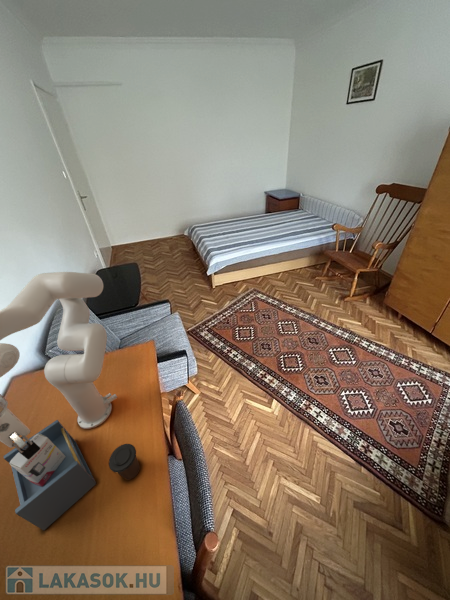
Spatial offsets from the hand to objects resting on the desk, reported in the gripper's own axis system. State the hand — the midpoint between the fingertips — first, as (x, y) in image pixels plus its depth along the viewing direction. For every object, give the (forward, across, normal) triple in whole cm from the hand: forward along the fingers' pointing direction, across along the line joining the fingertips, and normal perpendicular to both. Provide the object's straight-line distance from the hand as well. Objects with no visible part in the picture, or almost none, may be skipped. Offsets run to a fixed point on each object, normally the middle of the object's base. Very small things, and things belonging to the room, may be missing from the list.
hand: (25, 444), depth 66 cm
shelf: (+22, 0, +1) cm, 22 cm away
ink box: (+14, 0, +1) cm, 14 cm away
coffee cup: (+22, -19, -12) cm, 32 cm away
